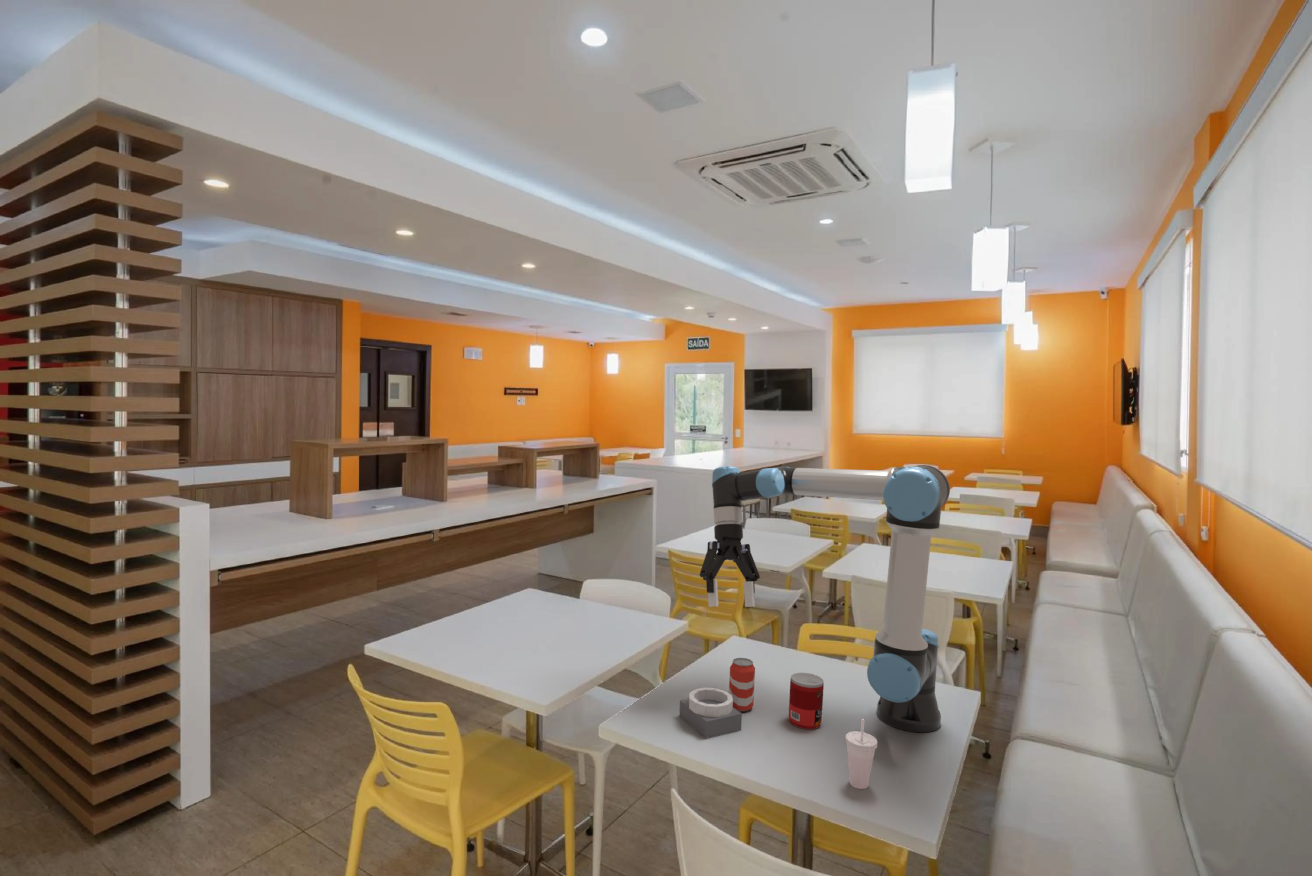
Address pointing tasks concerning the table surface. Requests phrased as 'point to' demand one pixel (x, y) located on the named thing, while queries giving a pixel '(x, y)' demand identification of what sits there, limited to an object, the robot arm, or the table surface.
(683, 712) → the mount
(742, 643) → the table surface
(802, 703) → the canned food
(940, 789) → the table surface
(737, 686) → the beverage can
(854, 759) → the smoothie
